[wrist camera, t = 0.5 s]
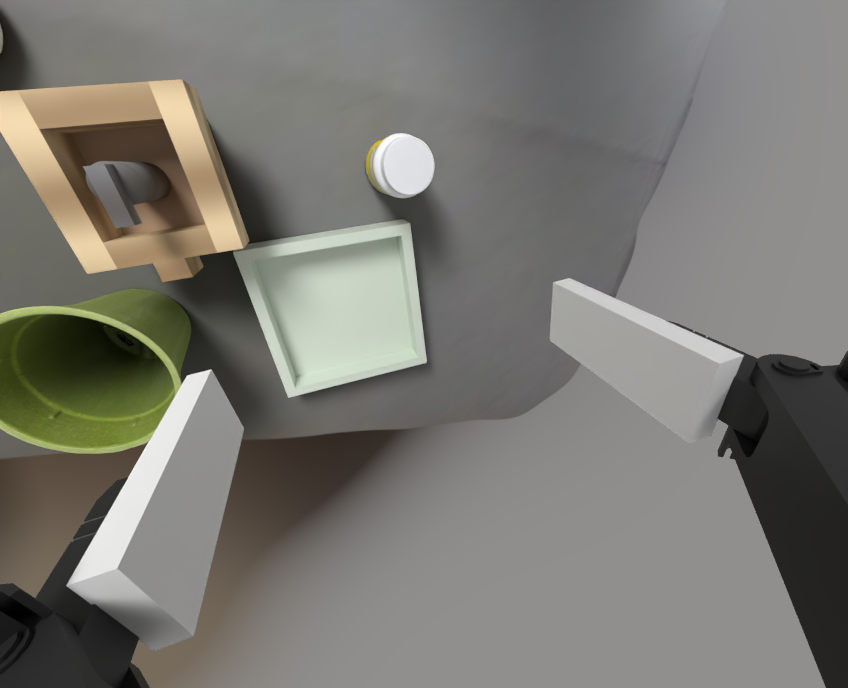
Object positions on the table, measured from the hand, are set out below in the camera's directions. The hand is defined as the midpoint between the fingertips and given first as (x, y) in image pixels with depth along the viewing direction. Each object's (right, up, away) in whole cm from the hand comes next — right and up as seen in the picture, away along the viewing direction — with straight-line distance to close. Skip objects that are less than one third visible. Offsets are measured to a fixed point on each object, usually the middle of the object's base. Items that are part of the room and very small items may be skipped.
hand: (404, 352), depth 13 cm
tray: (-8, +5, +24) cm, 26 cm away
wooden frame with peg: (-19, +12, +11) cm, 25 cm away
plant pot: (-26, +2, +20) cm, 33 cm away
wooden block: (-20, +14, +15) cm, 29 cm away
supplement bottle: (-3, +17, +20) cm, 26 cm away
